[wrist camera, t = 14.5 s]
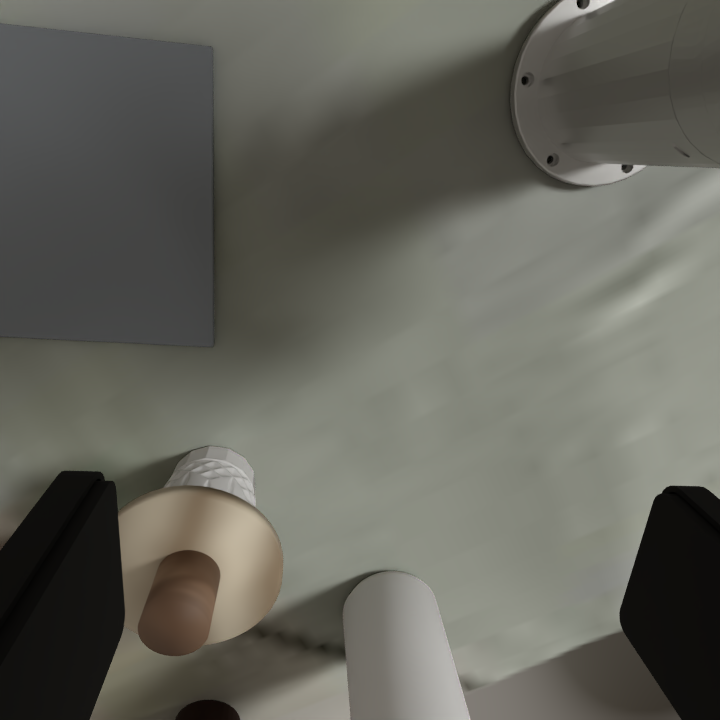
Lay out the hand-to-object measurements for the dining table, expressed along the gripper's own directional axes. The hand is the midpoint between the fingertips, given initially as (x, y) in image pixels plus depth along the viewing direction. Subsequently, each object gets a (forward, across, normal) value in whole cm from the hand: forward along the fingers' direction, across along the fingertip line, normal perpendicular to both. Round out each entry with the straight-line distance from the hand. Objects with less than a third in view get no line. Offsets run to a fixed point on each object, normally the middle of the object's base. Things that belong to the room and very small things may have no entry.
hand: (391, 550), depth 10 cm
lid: (+23, +8, +20) cm, 32 cm away
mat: (+33, +18, -2) cm, 38 cm away
